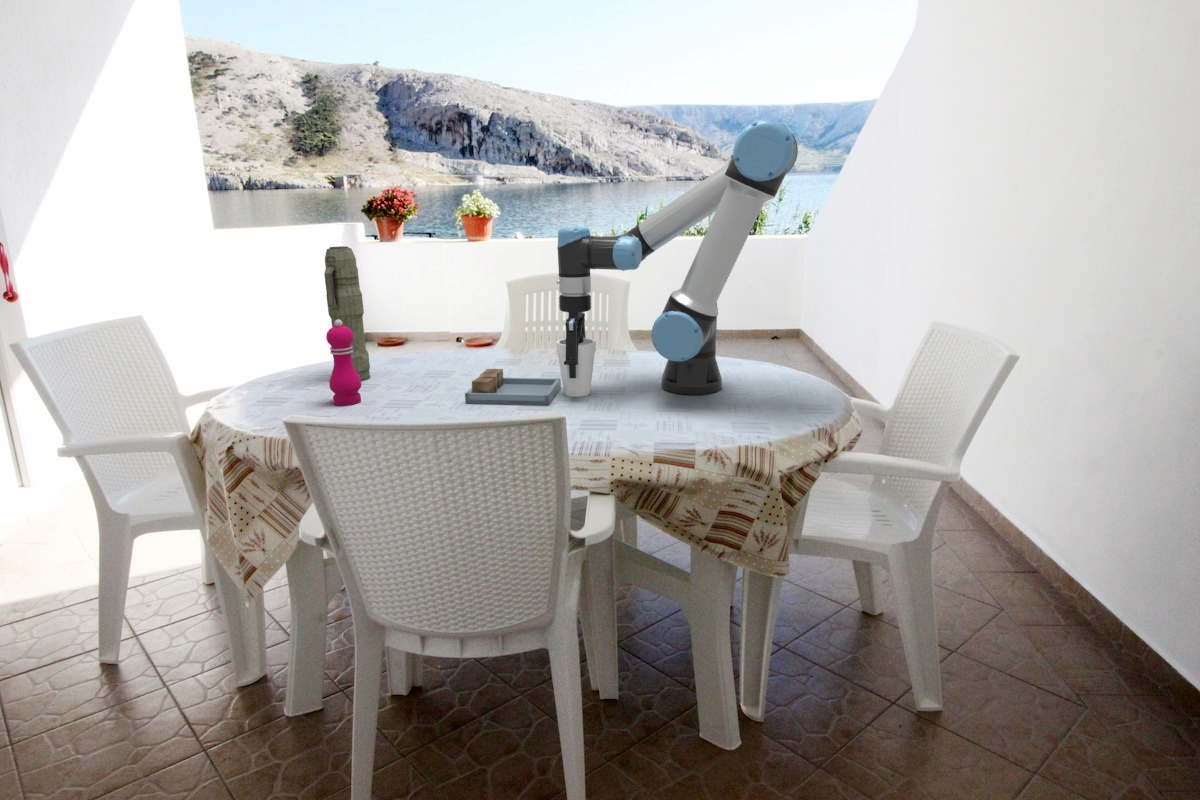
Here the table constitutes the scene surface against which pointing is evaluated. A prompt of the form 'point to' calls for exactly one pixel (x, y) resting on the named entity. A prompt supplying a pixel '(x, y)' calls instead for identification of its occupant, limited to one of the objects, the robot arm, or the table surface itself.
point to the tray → (519, 392)
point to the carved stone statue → (347, 302)
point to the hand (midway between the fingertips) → (576, 385)
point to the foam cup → (585, 366)
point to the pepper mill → (343, 366)
